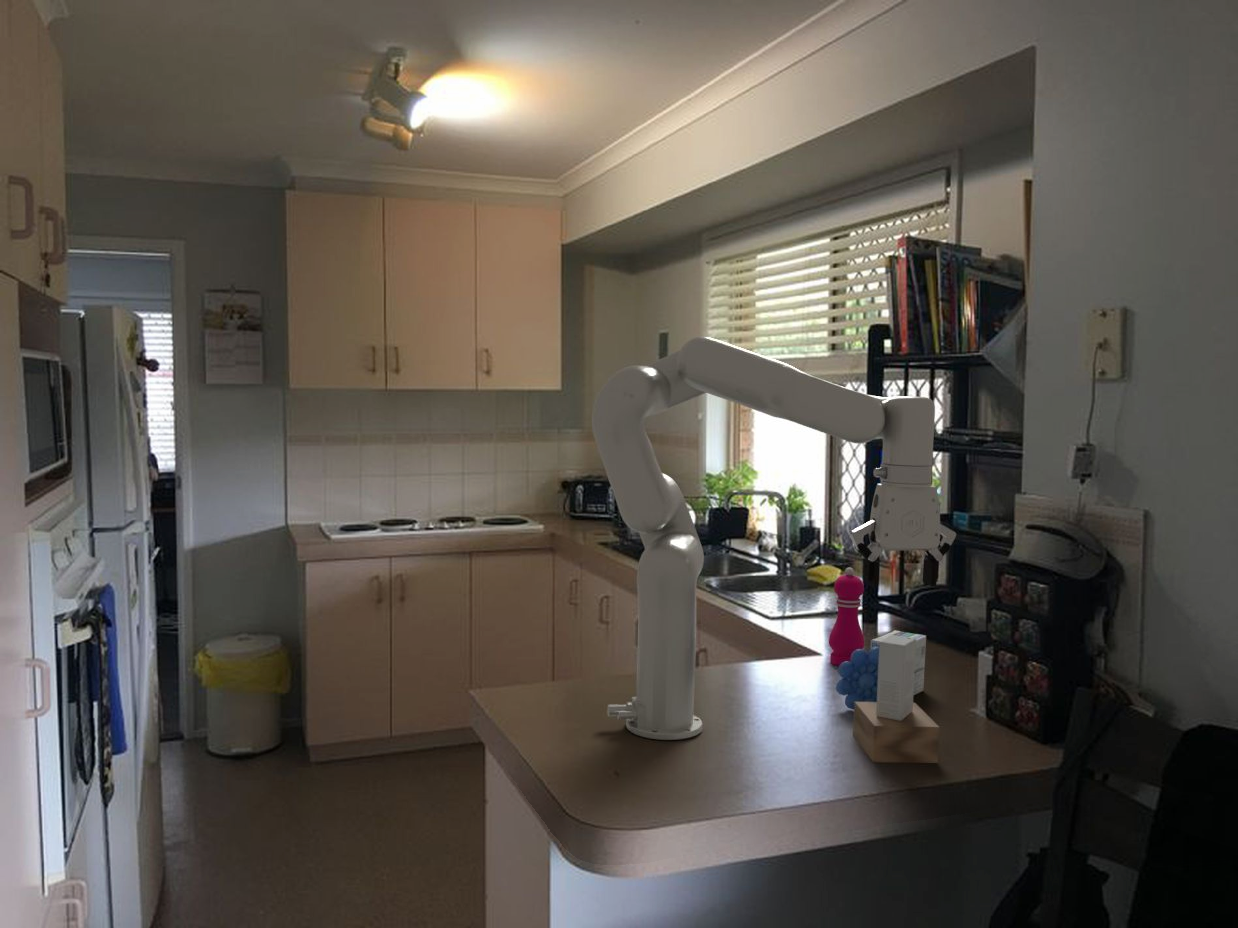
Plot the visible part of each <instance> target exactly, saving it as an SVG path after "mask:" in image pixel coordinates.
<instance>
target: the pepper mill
mask: <svg viewBox="0 0 1238 928" xmlns="http://www.w3.org/2000/svg"><path fill="white" fill-rule="evenodd" d="M854 573H855V570H854V568H853V567H847V568H845V573H844V574H843V575H840V576H838V577H837V578H836V580H834V584H833V585H834V586H833V590H834V593H835V594H836V596H837V597H836V598H835V600H836V602H835V605H836V606H837V613H836V614H837V616H836V620H835V623H834V624H833V627H832V628H831V631H830V633H829V636H828V646H829V647H830V648H831V650H832V652H831V653H830V657H829V659H830V660H829V661H830V663H831V664H833V665H835V666H837V667H839V666H840V665H841V664H842V663H843V662H846V661H849V662H851V654H852V653H853V652H854V651H855V650H857V649H862V650H864V648H865V637H864V633H863V630H862V628H861V625H860V623H859V607H861V601H862V599H860V597H861V596H862V595H864V591H865V585H864V582H863V580H862V579H861V578H860V577H859V576H856V575H854Z"/></svg>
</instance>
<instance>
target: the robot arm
mask: <svg viewBox="0 0 1238 928" xmlns="http://www.w3.org/2000/svg"><path fill="white" fill-rule="evenodd" d="M705 394H710V395H712V396H715V397H718V398H721V399H723V400H726V401H729V402H731V403H734V404H738V405H741V406H743V407H745V408H749V409H752V410H754V411H757V412H760V413H763V414H765V415H768V416H771V417H773V418H778V419H783V420H787V421H788V422H789V421H790V422H792V423H796V424H798V425H800V426H803V427H806V428H809V429H812V430H815V431H817V432H820V433H824V434H826V435H829V436H832V437H834V438H838V439H840V440H843V441H845V442H849V443H852V444H858V445H859V444H866V443H870V442H871V441H873V440H882V455H881V457H882V458H881V463H880V467H878V468H877V467H876V468H874V469H873V472H872V473H873V477H875V478H879V481H880V483H877V484H876V487H875V490H874V495H873V499H872V505H871V508H870V509H871V511H870V516H869V517H870V518H869V521H867V522H866V523H864V524H862V525H860V526H858V527H856V528H854V529H852V530H850V532H849V537H850V539H851V541H852V544H853V545H854V548H855V550H856V551H857V552H858V554H859V555H861V558H863V559H864V565H863V566H864V567H863V568H864V569H863V577H864V580H865V584H866V585H868V586H870V587H872V588H877V587H879V582H880V581H879V580H880V579H879V577H880V562H879V561H877V559H878V558H879V556H880V555H881V554H882V553H883V552H884V551H885V550H886V551H923V552H924V554H925V555H926V557H924V559H923V567H922V569H923V570H922V583H923V584H925V585H928V586H931V587H937V580H938V579H939V568H940V562H942V560H943V558H944V556H945V555H946V554H947V553H948V552H949V551H950V549H951V546H952V544H953V542H954V541H955V538H956V537H957V533H956V532H955V531H954V530H952V529H950V528H949V527H947V526H945V525H943V524H942V523H941V513H940V503H939V493H938V489H937V486H935V485H932V474H933V473H932V470H933V457H934V456H933V455H934V454H933V453H934V436H935V435H934V434H935V433H934V432H935V419H936V418H935V416H936V406H935V402H934V401H933V400H932V398H929V397H925V396H913V395H912V396H907V395H906V396H903V395H899V396H897V395H896V396H892V397H885V396H884V397H883V396H876V395H871V394H867V393H864V392H863V393H862V392H860V391H857V390H854V389H850V388H848V387H845V386H842V385H839V384H836V383H833V382H830V381H827V380H824V379H821V378H819V377H816V376H813V375H811V374H808V373H806V372H804V371H801V370H799V369H797V368H795V367H794V366H792V365H789V364H788V363H785V362H782V361H780V360H777V359H774V358H771V357H768V356H764V355H762V354H759V353H755V352H753V351H751V350H747V349H745V348H741V347H738V346H737V345H736V346H735V345H732V344H730V343H728V342H726V341H725V342H724V341H722V340H718V339H715V338H714V337H713V338H712V337H709V336H695V337H693V338H691V339H688V341H686V342H685V343H684V344H683V345H682V347H681V348H680V349H679V350H677V351H676V352H673V353H671V354H669V355H667V356H664V357H662V358H659V359H658V360H655V361H653V362H651V363H648V364H646V365H639V364H638V365H637V364H635V365H630V366H626V367H624V368H621V369H619V370H618V371H616V372H615V373H613V375H611V376H610V377H609V378H608V379H607V380H606V381H605V383H604V384H603V385H602V386H601V388H600V389H599V391H598V393H597V395H596V397H595V400H594V404H593V407H592V412H591V427H592V433H593V437H594V441H595V444H596V446H597V447H596V448H597V450H598V453H599V455H600V458H601V461H602V464H603V467H604V470H605V473H606V476H607V479H608V481H609V484H610V485H609V486H610V487H611V490H612V493H613V496H614V498H615V502H616V505H617V508H618V510H619V513H620V514H619V515H620V516H621V518H622V521H623V522H624V523H625V525H626V526H627V527H628V528H629V529H631V530H632V531H633V532H636V533H638V534H639V537H640V539H641V543H642V544H643V546H644V547H643V548H644V551H643V552H642V553H641V556H640V558H639V562H638V564H637V565H638V566H637V571H636V586H637V587H636V588H637V604H638V605H637V606H638V607H637V610H638V611H637V656H636V657H637V658H636V661H637V662H636V688H635V689H636V693H635V694H636V696H632V697H631V701H627V702H626V703H625V704H619V703H616V704H614V703H611V704H607V708H606V712H607V717H617V720H626V722H625V725H626V726H625V727H626V729H627V730H628V731H630V733H633V734H635V735H636V736H639V737H643V738H645V739H646V738H647V739H653V740H660V741H673V740H674V741H676V740H684V739H690V738H693V737H696V736H698V735H699V734H700V733H702V731H703V726H704V724H703V721H702V720H701V718H700V717H698V716H696V715H695V714H694V710H695V709H694V708H695V678H696V677H695V675H696V649H697V648H696V647H697V646H696V644H697V643H696V642H697V582H698V577H699V576H700V574H701V572H702V571H703V570H702V569H703V568H704V561H705V557H704V549H703V546H702V544H701V541H700V538H699V535H698V532H697V530H696V529H697V528H696V527H695V524H694V522H693V519H692V516H691V514H690V511H689V508H688V505H687V503H686V500H685V497H684V495H683V493H682V491H681V489H680V487H679V485H678V483H676V481H675V480H674V479H673V478H672V477H671V476H670V475H667V474H665V473H663V472H662V470H661V466H660V465H659V463H658V462H659V461H658V460H657V457H656V454H655V451H654V448H653V444H652V443H651V441H650V438H649V437H648V434H647V432H646V429H645V419H646V418H647V417H653V416H656V415H658V414H661V413H663V412H666V411H667V410H670V409H672V408H674V407H677V406H679V405H681V404H684V403H686V402H689V401H691V400H693V399H695V398H696V399H697V398H698V397H700V396H702V395H705ZM867 534H868V539H869V542H870V543H869V544H868V545H866V544H865V543H864V539H863V537H864V536H866V535H867ZM941 536H942V538H941ZM940 540H941V541H940Z"/></svg>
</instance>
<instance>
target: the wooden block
mask: <svg viewBox="0 0 1238 928" xmlns="http://www.w3.org/2000/svg"><path fill="white" fill-rule="evenodd" d="M876 708H877V702H854V709H853V723H852V725H853V726H852V736H853V737H854V739H855V740H856V742H857V743H858V744H859V746H860V747H861V748H862V750H863V751H864V752H865V754H866V755H867V756H868V757H869V759H870V761H871V762H872V763H912V764H921V763H922V764H938V763H939V761H938V760H939V744H940V741H939V740H940V726H939V725H938V724H937V723H936V722H935V721H934V720H933V719H932V718H931V717H930V716H929V715H928V714H927V713H926V712H925V711H924V710H923V709H922V708H921V707H920V706H919V705H918V703H916V702H913V711H912V712H911V713H910V714H909V715H907V716H906V717H905V718H904V719H903V720H902V721H898V720H893V719H888V718H883V717H878V716H876Z"/></svg>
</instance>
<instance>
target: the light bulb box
mask: <svg viewBox="0 0 1238 928" xmlns="http://www.w3.org/2000/svg"><path fill="white" fill-rule="evenodd" d="M890 635H897V636H903V637H909V638H915V639H916V651H915V671H914V693H913V697H914V696H915V695H917V694H920V693H921V692H923V691H924V685H925V664H926V643H927V635H924V634H919V633H911V632H905V631H900V630H892V631H889V632H888V633H886V634H883V635H881V636H878V637H875V638H873V639H870V646H869V647H870V648H869V649H870V650H871V649H872V648H875V647H878V648H879V642H880V641H882V640H884V639H885V638H887V637H888V636H890ZM870 650H869V651H870Z"/></svg>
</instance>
